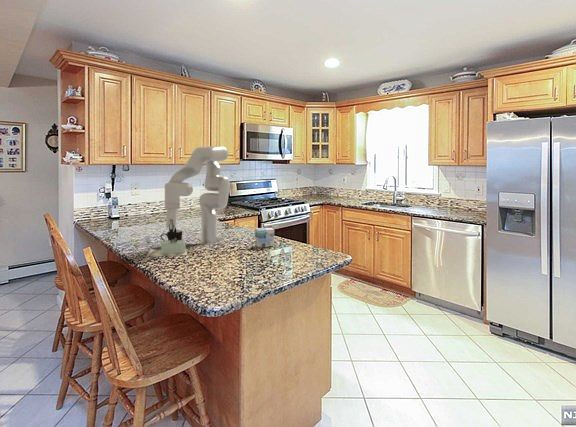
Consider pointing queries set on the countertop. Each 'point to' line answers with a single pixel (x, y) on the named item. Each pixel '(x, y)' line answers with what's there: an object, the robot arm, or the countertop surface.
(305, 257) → the countertop surface
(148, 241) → the t key
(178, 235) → the coffee mug
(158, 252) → the base plate
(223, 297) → the countertop surface
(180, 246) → the slotted block
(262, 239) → the light bulb box
